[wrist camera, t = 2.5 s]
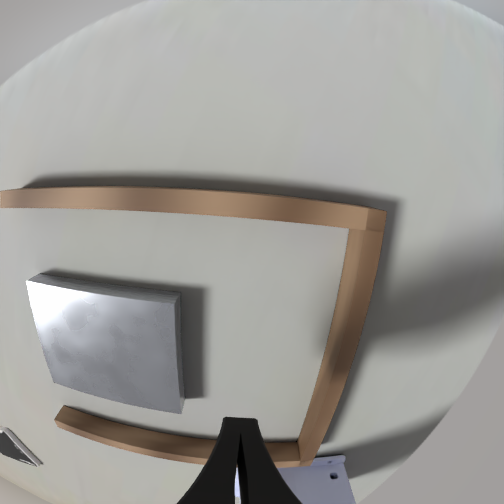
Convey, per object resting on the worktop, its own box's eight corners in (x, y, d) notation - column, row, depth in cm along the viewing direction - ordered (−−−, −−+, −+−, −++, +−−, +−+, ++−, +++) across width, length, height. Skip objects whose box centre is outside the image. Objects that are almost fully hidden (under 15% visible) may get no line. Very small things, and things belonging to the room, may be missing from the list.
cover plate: (182, 288, 15) (174, 304, 13) (186, 394, 17) (181, 414, 15) (43, 271, 15) (26, 281, 13) (65, 367, 17) (53, 382, 15)
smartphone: (-26, 422, 20) (5, 431, 19) (-22, 418, 21) (9, 425, 20) (1, 454, 21) (40, 467, 20) (4, 449, 23) (43, 462, 22)
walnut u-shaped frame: (369, 206, 14) (387, 211, 12) (306, 447, 18) (310, 466, 16) (20, 188, 13) (0, 191, 11) (66, 412, 17) (57, 426, 15)
